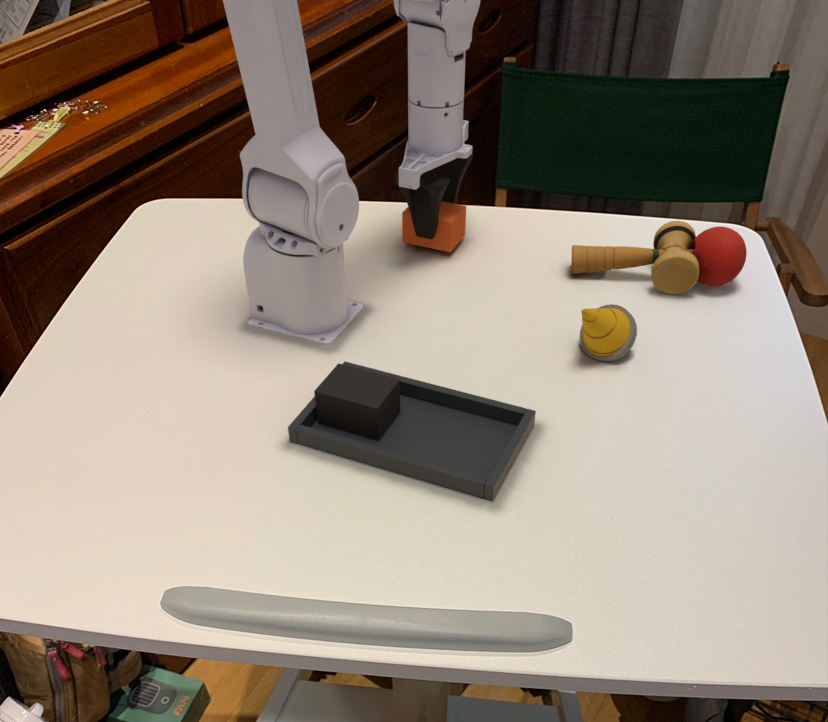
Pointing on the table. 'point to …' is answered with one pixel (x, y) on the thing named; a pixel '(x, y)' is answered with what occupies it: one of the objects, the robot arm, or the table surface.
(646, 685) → the table surface
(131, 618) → the table surface
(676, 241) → the kendama
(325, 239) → the robot arm
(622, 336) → the spiral yellow cone
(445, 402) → the tray
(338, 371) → the black block
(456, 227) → the orange block
